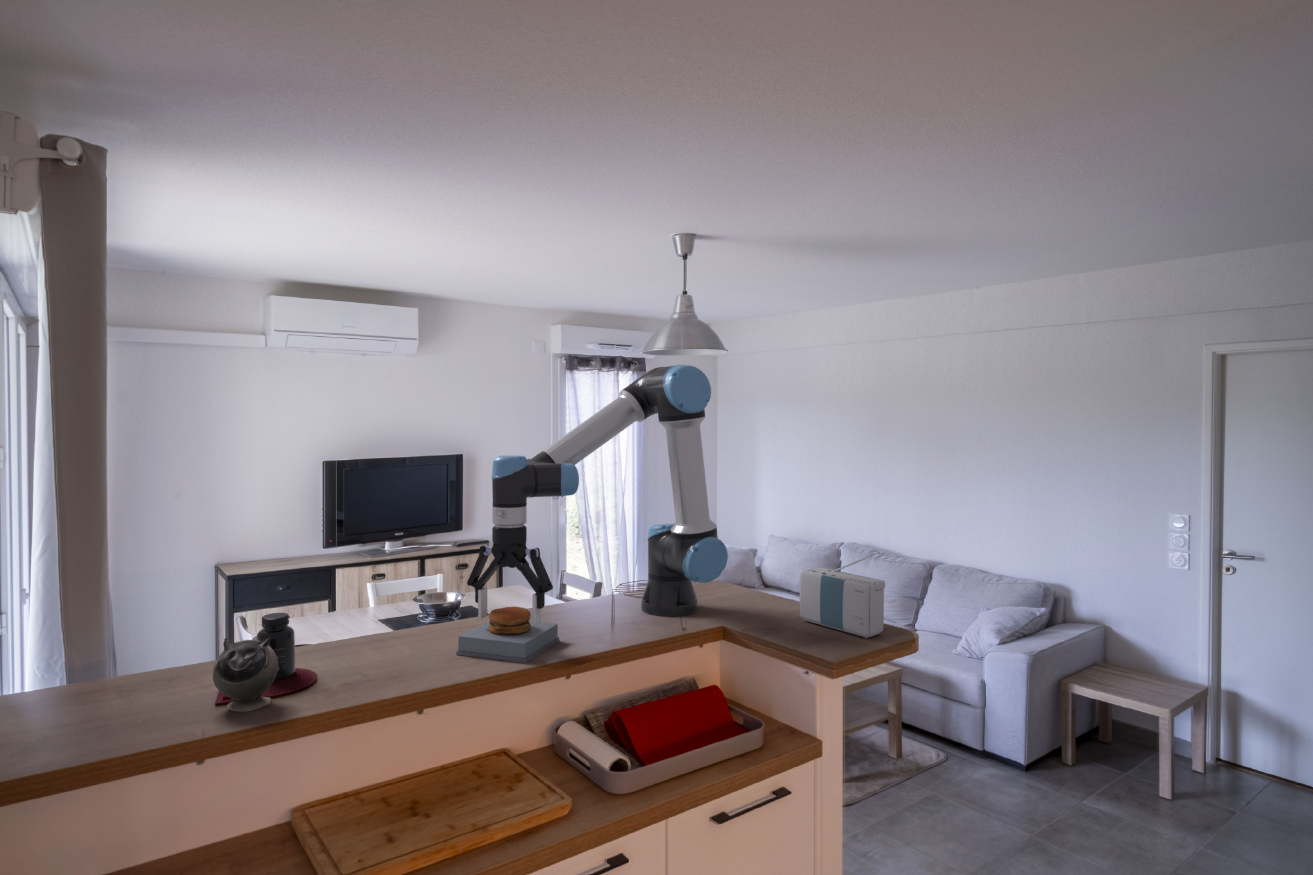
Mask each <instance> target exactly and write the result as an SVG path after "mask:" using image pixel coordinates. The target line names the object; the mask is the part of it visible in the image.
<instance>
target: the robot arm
mask: <svg viewBox="0 0 1313 875" xmlns="http://www.w3.org/2000/svg"><path fill="white" fill-rule="evenodd" d="M711 397H712V387H711V383H710V380H709V378H708V377H707V375H706V374H705V372H703V371H702V370H701V369H700V368H698V367H696V366H693V365H690V364H676V365H670V366H669V365H668V366H660V367H659V366H658V367H655V368H651V370H649V371H647V372H645V373H644V374H642V375H641V376H639V377H638V378H636V379H635V380H633V382H631V383H629V384H628V385H627V386H625V388H622V390H620V391H619V393H618V397H617V398H615V399H614V400H613V401H611V402H610V403H608V404H607V405H606V406H604V407H602V408H601V409H600V410H598V411H597V412H596V413H594V414H592V415H591V416H589V417H588V418H587V419H586V420H584V421H583V422H582V423H580V424H579V425H577V426H576V427H574V428H573V429H572V430H570V431H569V432H567V433H565V435H563V436H562V437H560V438H558V439H557V440H556V441H555V442H553V443H552V444H550V445H548V446H547V447H546V448H544V449H543V450H542V451H540V452H539V453H537V454H536V455H535V456H533V457H531V458H527V457H526V456H525V455H498V456H496V457H494V459H493V461H492V467H491V468H492V472H491V486H492V487H491V489H492V514H491V515H492V520H491V522H492V524H493V525H494V526H493V527H492V528H491V529H492V530H491V531H492V534H491V540H492V546H491V545H490V544H488V543H486V544H483V545H481V546H479V552H478V557H477V558H476V562H475V563H474V566H473V568H472V571H471V572H470V574H469V577H468V579H467V581H466V584H467V586H470V587H472V588H474V595H475V596H474V601H475V603H477V608H478V610H477V611H478V612H477V617H478V620H482V619H484V618H487V617H488V587H485V586H486V584H487V583H488V582H489V580H491V578H492V576H493V575H494V574H495V573H496V571H497V570H498V568H509V569H511V568H512V569H515V568H516V569H517V570H518V571H519V572H520V573H521V574H522V576H523V577H524V579H525V580H526V581H527V582H528V584H529V586H530V587H531V588H532V590H533V592H534V593H533V594H532V596H531V597H532V599H531V600H532V602H531V603H532V606H531V607H532V618H531V619H532V620H531V621H532V624H535V625H536V624H537V623H539V622H542V609H544V608H545V606H546V605H545V604H546V602H545V600H546V598H545V595H546V593H548V592H550V591H552V590H553V589H554V585H553V584H552V582H551V579H550V577H549V574H548V571H547V570H546V567H545V565H544V563H543V560H542V558H541V550H540V548H539V547H534V548H527V538H528V536H527V534H528V533H527V529H528V528H527V526H526V524H527V521H528V518H527V516H528V515H527V512H528V510H527V505H528V503H527V500H528V498H530V499H531V498H541V497H543V498H549V497H551V498H552V497H561V498H562V497H565V496H573V495H575V494H576V493H577V491H578V489H579V485H580V484H579V483H580V476H579V470H578V468H577V466H576V465H577V464H579V463H580V462H581V461H583V460H584V459H586V458H587V457H588V456H590V455H591V454H592V453H593V452H595V451H596V450H598V449H599V448H600V447H602V446H603V445H605V444H606V443H607V442H609V441H610V440H612V439H613V438H614V437H615V436H617V435H618V434H620V433H622V432H623V431H624V430H625V429H627V428H628V427H629V426H631V425H632V424H634V423H635V422H636V423H637V422H639V423H641V422H643V421H645V420H646V419H647V418H649V417H652V416H654V415H656V414H657V417H658V423H659V424H660V425H662V427H664V428H665V434H666V445H667V453H668V461H669V471H670V473H669V474H670V481H671V491H672V498H673V500H672V501H673V508H674V518H675V523H661V524H659V523H658V524H653V525H651V526H650V527H649V529H648V533H647V534H648V535H647V567H648V568H647V572H648V573H647V582H646V585H645V589H644V590H643V591H644V592H643V595H642V598H641V606H640V608H641V611H643V612H644V613H647V614H649V615H650V614H651V615H655V616H666V617H672V616H673V617H677V616H685V615H691V614H694V613H696V612H697V611H698V610H699V609H698V607H699V602H698V598H697V595H696V592H695V588H694V585H693V582H694V583H701V584H706V583H710V582H713V581H714V580H716V579H718V578H719V577H720V576H721V574H722V573H723V571H725V569H726V567H727V564H728V559H729V553H728V549H727V546H726V544H725V543H723V541H722V540H721V539H720V538H718V528H717V524H716V523H715V522H714V521H712V520H711V518H710V510H709V509H710V508H709V501H708V500H709V498H708V490H707V482H706V481H707V480H706V470H705V462H704V460H705V459H704V453H703V452H704V450H703V440H702V432H701V424H702V422H703V421H704V420H705V419H706V411H705V409H706V408H707V406H708V404H709V403H710V400H711ZM491 554H492V556H493V560H491V562H490V564H489V565H488V567H487V568H486V570H485V571H484V572H483V570H484V568H485V565H486V563H487V562H488V559H489V556H490V555H491ZM527 556H528V558H529V559H530V562H531V563H529V562H528V560H527V559H526V558H527ZM530 564H531V565H532V567H533V569H532V567H531V566H530ZM533 570H534V571H533Z"/></svg>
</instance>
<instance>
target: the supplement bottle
mask: <svg viewBox="0 0 1313 875" xmlns="http://www.w3.org/2000/svg"><path fill="white" fill-rule="evenodd" d="M289 617H290V616H289V614H288V613H286V612H272V613H268V614H264V615H263V616H261V629H260V630H259V631H258V632H257V634H256V638H255V640H257V641H261V642H262V641H263V639H264V638H265V637H269V636H270V638H271V642H270V645H268V646H269V647H271V648H272V649H273V651H274V652H275V654H276V656H277V660H278V671H277V675H276V677H275V679H274V681H277V680H283V679H286V678H288V677H291V676H292V675H293V674H294V673H295V672H296V651H295V650H296V642H295V641H296V640H295V638H296V637H295V634H296V633H295V629H294V628H293V627H292V626H290V625H289V624H290V618H289Z"/></svg>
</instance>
